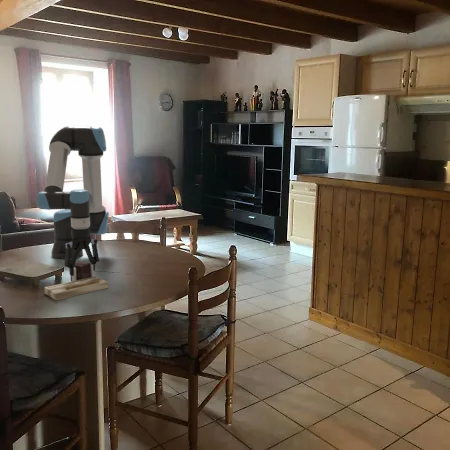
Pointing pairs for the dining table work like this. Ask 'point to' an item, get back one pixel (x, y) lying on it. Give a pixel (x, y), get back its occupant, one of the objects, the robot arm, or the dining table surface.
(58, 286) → the board
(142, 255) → the dining table surface
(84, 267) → the box
